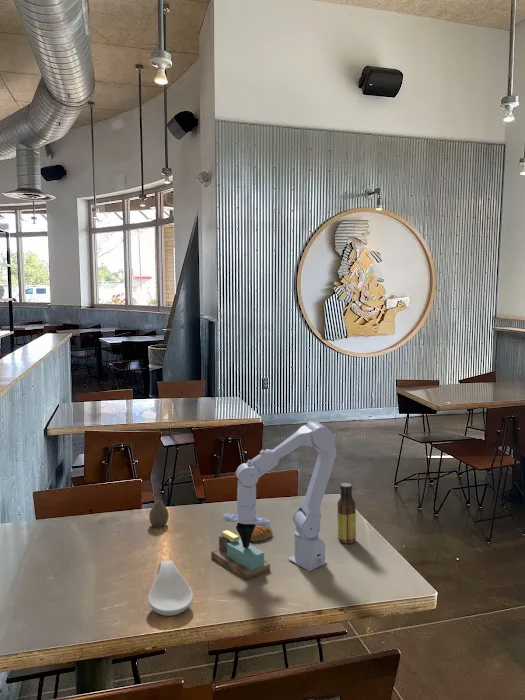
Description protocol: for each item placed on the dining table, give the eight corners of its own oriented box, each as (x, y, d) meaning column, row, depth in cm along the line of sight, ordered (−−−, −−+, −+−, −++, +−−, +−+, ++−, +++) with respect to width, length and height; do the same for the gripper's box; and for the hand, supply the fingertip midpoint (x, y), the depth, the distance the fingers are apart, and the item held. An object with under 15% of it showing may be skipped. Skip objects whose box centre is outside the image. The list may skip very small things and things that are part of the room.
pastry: (257, 545, 176) (257, 534, 176) (242, 539, 180) (242, 529, 180) (274, 536, 183) (274, 525, 183) (259, 530, 187) (259, 520, 187)
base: (270, 570, 159) (270, 550, 158) (247, 580, 153) (247, 559, 153) (233, 548, 173) (233, 530, 172) (211, 557, 167) (211, 538, 166)
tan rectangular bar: (238, 541, 164) (238, 536, 164) (233, 542, 163) (233, 538, 163) (227, 534, 169) (227, 530, 169) (222, 536, 168) (222, 531, 168)
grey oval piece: (145, 527, 188) (145, 504, 187) (155, 520, 195) (154, 497, 194) (163, 530, 186) (162, 506, 185) (171, 522, 193) (171, 499, 192)
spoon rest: (196, 619, 135) (196, 592, 134) (150, 626, 131) (149, 599, 131) (183, 573, 157) (183, 550, 156) (143, 578, 154) (143, 555, 153)
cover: (264, 565, 158) (264, 552, 158) (251, 570, 155) (251, 557, 154) (239, 550, 167) (239, 538, 167) (226, 555, 164) (226, 543, 163)
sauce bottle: (355, 537, 182) (356, 481, 181) (356, 545, 176) (358, 488, 174) (336, 536, 183) (337, 480, 181) (337, 544, 177) (338, 487, 175)
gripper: (273, 501, 161) (272, 544, 162) (228, 496, 165) (228, 537, 166) (266, 510, 154) (266, 554, 155) (220, 504, 158) (220, 547, 159)
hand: (246, 546), depth 160 cm, fingers closed
